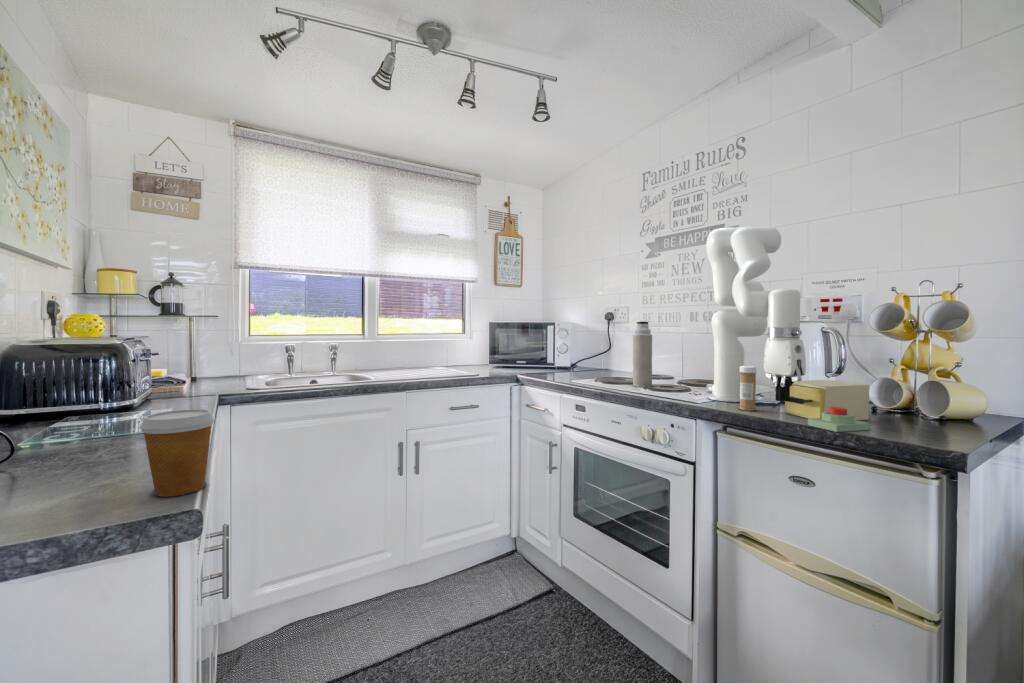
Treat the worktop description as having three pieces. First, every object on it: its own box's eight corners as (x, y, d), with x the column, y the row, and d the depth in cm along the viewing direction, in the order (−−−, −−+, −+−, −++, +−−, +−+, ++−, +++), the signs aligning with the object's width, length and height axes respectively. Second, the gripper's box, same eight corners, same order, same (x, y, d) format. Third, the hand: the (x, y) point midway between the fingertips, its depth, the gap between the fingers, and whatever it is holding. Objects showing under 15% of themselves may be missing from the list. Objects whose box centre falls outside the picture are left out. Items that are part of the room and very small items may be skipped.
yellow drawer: (807, 419, 118) (807, 390, 118) (772, 411, 129) (772, 384, 129) (859, 416, 122) (860, 387, 122) (822, 408, 133) (822, 383, 133)
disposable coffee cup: (229, 478, 75) (227, 408, 75) (190, 500, 66) (188, 419, 65) (171, 479, 75) (169, 408, 74) (124, 501, 65) (121, 420, 65)
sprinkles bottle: (758, 410, 136) (759, 366, 136) (750, 411, 134) (751, 367, 133) (744, 407, 140) (744, 365, 139) (736, 409, 137) (736, 366, 137)
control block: (807, 425, 115) (807, 411, 115) (838, 423, 117) (838, 409, 117) (836, 432, 107) (837, 417, 107) (869, 429, 110) (869, 415, 109)
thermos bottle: (648, 384, 197) (649, 321, 197) (654, 387, 190) (654, 321, 189) (630, 384, 198) (631, 321, 197) (635, 387, 190) (635, 321, 189)
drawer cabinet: (825, 422, 118) (826, 386, 118) (786, 413, 131) (786, 381, 130) (868, 419, 122) (869, 384, 122) (826, 411, 134) (826, 379, 134)
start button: (825, 414, 114) (825, 407, 114) (836, 413, 114) (837, 406, 114) (839, 417, 110) (839, 409, 110) (850, 416, 111) (850, 409, 111)
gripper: (819, 334, 116) (818, 404, 116) (772, 334, 130) (771, 396, 131) (795, 334, 114) (794, 406, 115) (751, 334, 128) (750, 397, 129)
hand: (782, 400), depth 123 cm, fingers closed
